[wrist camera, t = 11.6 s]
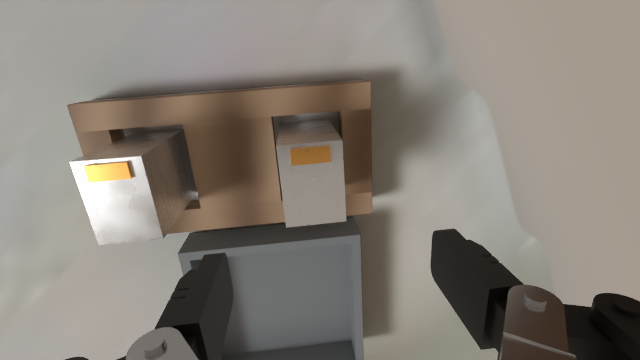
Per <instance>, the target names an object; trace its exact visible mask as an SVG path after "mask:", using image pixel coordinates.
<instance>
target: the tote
mask: <svg viewBox="0 0 640 360" xmlns="http://www.w3.org/2000/svg"><path fill="white" fill-rule="evenodd" d="M216 253H226V255H227V259H228V264H229V269H230V275H231V280H232V285H233V305H232V309H231V314H230V318H229V322H228V327H227V331H226V335H225V339H224V344H223V348H222V352H221V357H220V360H364V353H363V316H362V280H361V243H360V233H359V230H358V228H357V225H356V223H355V221H354V218H353V217H346V221H344V222H335V223H325V224H316V225H307V226H297V227H288V228H286V224H276V225H266V226H256V227H246V228H236V229H226V230H216V231H206V232H196V233H190V234H189V235H188V237H187V239H186V241H185V242H184V244H183V246H182V247H181V249H180V251H179V253H178V256H179V260H180V264H181V268H182V272H183V276H184V275H185V274H186V273H187V272H188V271H189V270H192V269H198V267H199V265H200V263H201V260H202V258H203V256H204V255H206V254H216Z"/></svg>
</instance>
